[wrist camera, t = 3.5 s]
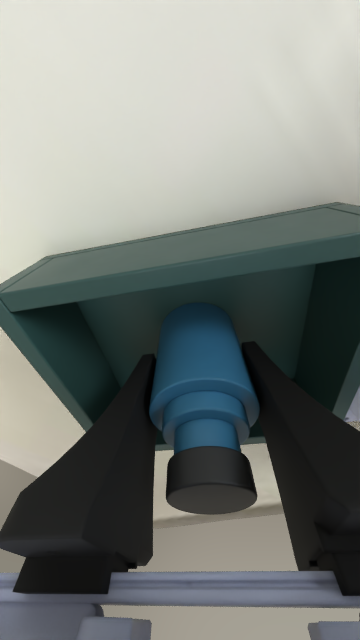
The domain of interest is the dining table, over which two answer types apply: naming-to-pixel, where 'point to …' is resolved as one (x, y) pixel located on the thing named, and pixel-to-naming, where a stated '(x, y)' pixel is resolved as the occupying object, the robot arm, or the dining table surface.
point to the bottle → (204, 410)
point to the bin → (197, 287)
